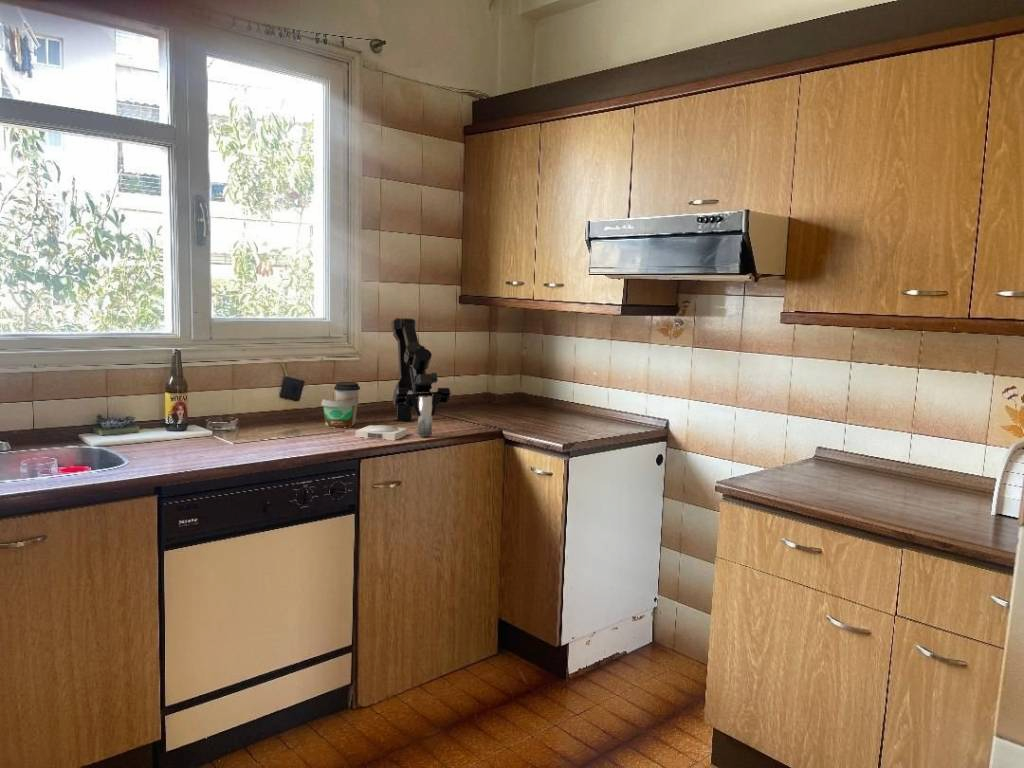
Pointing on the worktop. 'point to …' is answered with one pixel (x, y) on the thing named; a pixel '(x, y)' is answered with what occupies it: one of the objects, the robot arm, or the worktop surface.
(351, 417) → the food container
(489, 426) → the worktop surface
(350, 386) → the coffee cup
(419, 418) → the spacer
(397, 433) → the scale
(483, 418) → the worktop surface
